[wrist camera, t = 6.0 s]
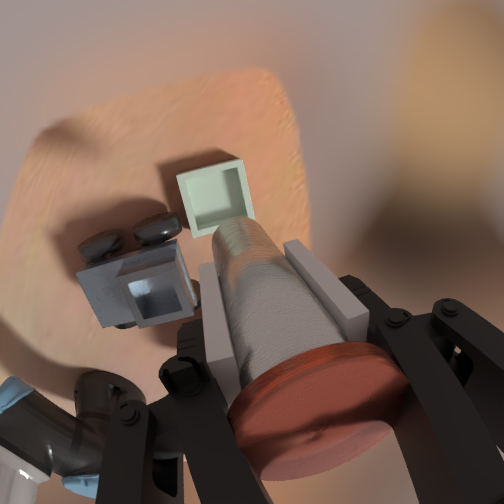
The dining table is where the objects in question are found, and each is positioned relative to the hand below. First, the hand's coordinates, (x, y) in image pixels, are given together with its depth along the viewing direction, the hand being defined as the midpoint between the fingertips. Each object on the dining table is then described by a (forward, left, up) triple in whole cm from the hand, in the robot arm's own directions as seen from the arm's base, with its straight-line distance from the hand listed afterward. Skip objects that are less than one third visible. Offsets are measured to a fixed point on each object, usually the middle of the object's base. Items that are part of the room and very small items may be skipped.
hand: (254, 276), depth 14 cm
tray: (0, 0, -24) cm, 24 cm away
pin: (0, 0, -5) cm, 5 cm away
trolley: (-12, -7, -24) cm, 28 cm away
